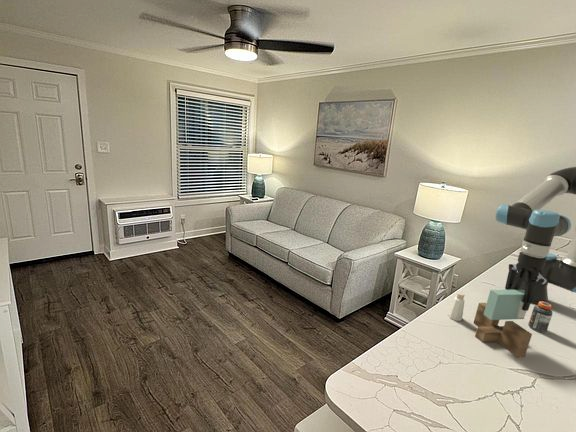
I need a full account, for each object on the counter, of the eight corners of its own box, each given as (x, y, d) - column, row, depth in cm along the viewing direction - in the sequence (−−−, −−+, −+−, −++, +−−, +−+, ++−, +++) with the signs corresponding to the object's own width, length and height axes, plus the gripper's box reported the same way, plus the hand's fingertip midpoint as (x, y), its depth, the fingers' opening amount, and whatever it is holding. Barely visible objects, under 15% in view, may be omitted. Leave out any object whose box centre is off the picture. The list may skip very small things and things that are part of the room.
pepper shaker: (444, 314, 129) (450, 290, 126) (453, 312, 131) (459, 289, 128) (455, 322, 124) (462, 297, 121) (465, 320, 126) (471, 295, 123)
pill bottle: (529, 322, 129) (537, 298, 126) (547, 329, 125) (555, 304, 122) (526, 327, 125) (534, 302, 122) (545, 335, 121) (554, 309, 118)
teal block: (515, 313, 116) (522, 289, 114) (523, 319, 113) (531, 294, 110) (483, 314, 113) (490, 289, 111) (491, 319, 110) (498, 294, 108)
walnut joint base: (459, 323, 123) (464, 303, 121) (493, 322, 126) (499, 302, 124) (501, 358, 104) (508, 335, 102) (540, 356, 108) (547, 333, 105)
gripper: (504, 245, 115) (488, 302, 121) (547, 263, 99) (526, 327, 105) (520, 246, 117) (504, 301, 122) (566, 264, 101) (544, 327, 107)
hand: (514, 313), depth 114 cm, fingers closed on teal block, 3 cm apart
